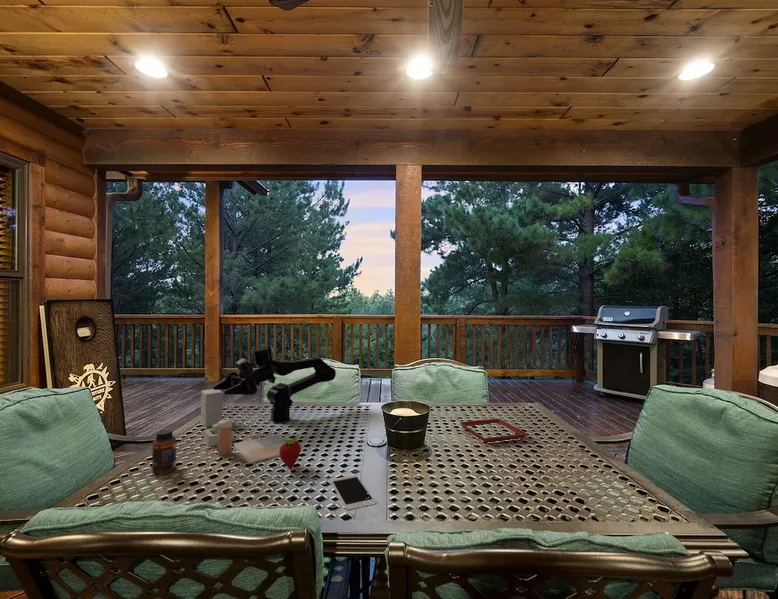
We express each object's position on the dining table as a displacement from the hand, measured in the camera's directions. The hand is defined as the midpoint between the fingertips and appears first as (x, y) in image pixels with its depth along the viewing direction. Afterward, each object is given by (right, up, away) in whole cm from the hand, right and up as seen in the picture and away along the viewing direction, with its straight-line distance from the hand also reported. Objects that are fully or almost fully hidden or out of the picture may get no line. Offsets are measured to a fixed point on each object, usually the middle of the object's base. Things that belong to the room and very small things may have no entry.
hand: (218, 390), depth 134 cm
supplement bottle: (-3, -17, -27) cm, 32 cm away
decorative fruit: (+33, -17, -25) cm, 44 cm away
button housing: (+2, -17, -4) cm, 17 cm away
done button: (+2, -15, -4) cm, 15 cm away
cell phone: (+52, -18, -37) cm, 67 cm away
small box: (-9, -17, +14) cm, 24 cm away
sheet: (+20, -17, -10) cm, 28 cm away
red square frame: (+101, -18, +5) cm, 103 cm away
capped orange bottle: (+9, -17, -15) cm, 24 cm away
